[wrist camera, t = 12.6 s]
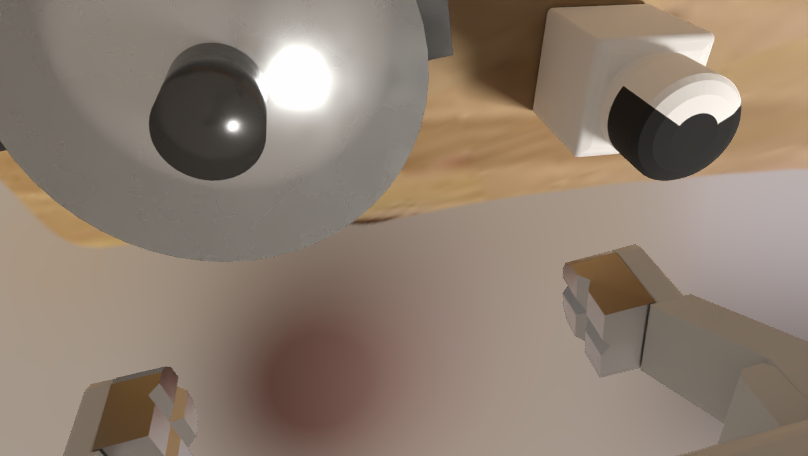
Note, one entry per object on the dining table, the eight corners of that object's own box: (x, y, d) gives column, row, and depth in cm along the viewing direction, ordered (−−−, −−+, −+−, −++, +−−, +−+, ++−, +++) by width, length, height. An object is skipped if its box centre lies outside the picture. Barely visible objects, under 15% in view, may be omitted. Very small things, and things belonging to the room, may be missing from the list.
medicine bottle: (623, 105, 41) (732, 190, 31) (530, 112, 39) (613, 202, 30) (649, 2, 37) (784, 62, 27) (546, 6, 35) (648, 71, 26)
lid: (-144, -130, 18) (-267, -119, 14) (394, -212, 20) (427, -224, 16) (101, 279, 29) (72, 355, 25) (439, 207, 30) (465, 267, 26)
